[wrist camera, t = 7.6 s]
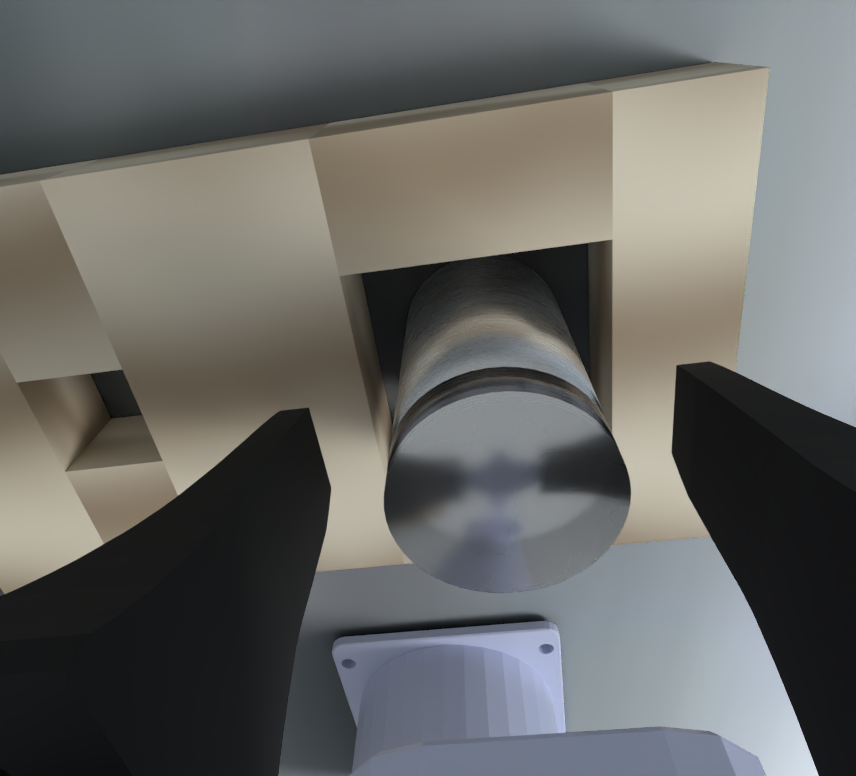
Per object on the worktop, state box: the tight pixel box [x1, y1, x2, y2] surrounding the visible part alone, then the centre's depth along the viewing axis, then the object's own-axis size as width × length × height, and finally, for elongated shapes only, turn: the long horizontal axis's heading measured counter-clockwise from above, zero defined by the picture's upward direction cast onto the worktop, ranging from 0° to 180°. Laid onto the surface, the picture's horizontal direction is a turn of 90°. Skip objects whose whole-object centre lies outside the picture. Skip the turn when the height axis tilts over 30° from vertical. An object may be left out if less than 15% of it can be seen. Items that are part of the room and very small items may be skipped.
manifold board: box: [0, 62, 770, 594], centre depth 15 cm, size 11×20×2 cm, turn 98°
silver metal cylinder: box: [384, 255, 631, 593], centre depth 13 cm, size 4×4×7 cm
